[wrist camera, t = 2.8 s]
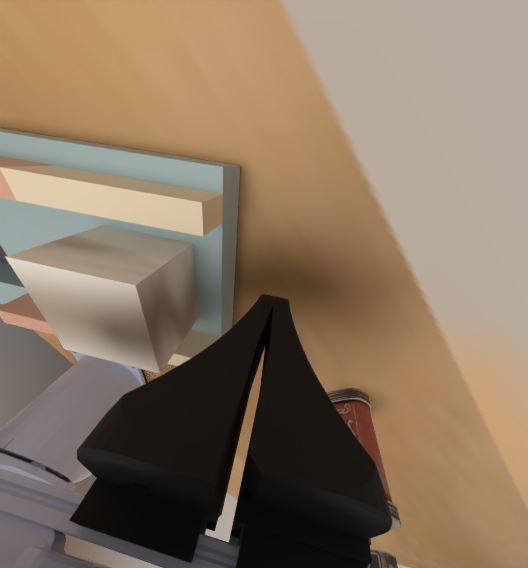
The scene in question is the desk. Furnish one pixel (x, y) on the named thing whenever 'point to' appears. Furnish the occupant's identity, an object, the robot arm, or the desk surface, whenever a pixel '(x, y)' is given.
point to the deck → (118, 216)
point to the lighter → (358, 419)
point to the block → (114, 293)
